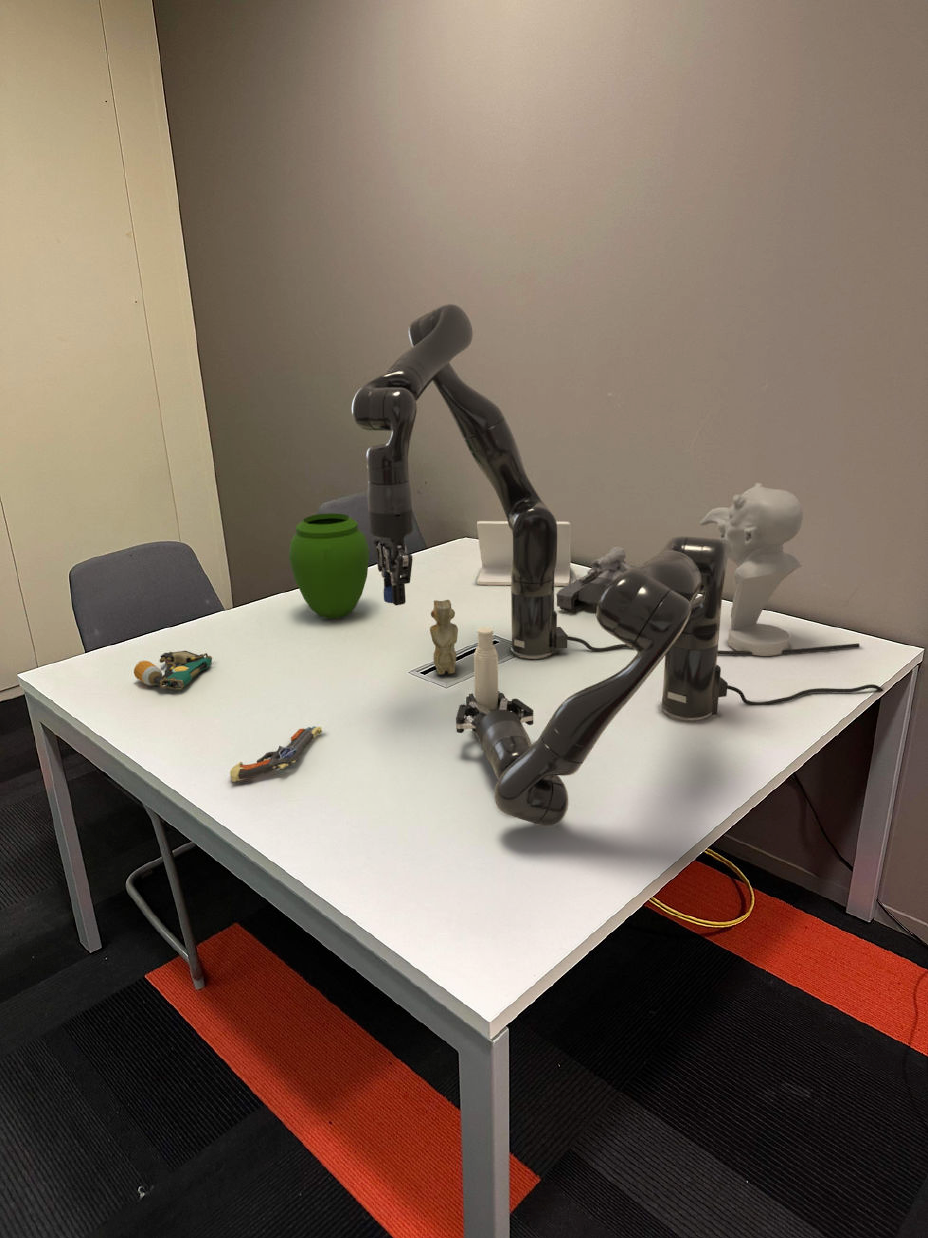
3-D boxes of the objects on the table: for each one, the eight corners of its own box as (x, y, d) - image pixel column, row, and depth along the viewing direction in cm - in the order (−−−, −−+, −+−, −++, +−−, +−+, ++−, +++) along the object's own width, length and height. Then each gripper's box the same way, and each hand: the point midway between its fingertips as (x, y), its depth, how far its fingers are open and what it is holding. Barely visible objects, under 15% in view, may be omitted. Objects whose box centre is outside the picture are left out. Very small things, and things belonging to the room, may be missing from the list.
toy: (603, 584, 229) (605, 530, 224) (673, 597, 218) (677, 540, 213) (555, 612, 210) (556, 553, 205) (630, 627, 199) (633, 566, 194)
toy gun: (224, 771, 138) (281, 769, 136) (271, 724, 156) (322, 721, 154) (228, 786, 139) (285, 784, 137) (273, 737, 157) (324, 735, 155)
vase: (389, 608, 216) (383, 514, 208) (339, 633, 201) (330, 533, 192) (330, 596, 226) (322, 506, 218) (278, 619, 211) (267, 523, 202)
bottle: (480, 741, 151) (477, 635, 143) (473, 731, 154) (470, 627, 147) (502, 738, 152) (500, 632, 144) (494, 727, 155) (492, 624, 148)
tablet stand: (569, 585, 229) (570, 524, 223) (476, 584, 232) (475, 523, 226) (570, 566, 246) (571, 508, 240) (484, 564, 249) (483, 507, 243)
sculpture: (458, 662, 183) (456, 596, 178) (460, 676, 176) (457, 608, 171) (431, 663, 183) (428, 597, 177) (431, 677, 176) (428, 609, 171)
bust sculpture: (728, 615, 205) (741, 470, 193) (809, 647, 185) (829, 488, 173) (677, 628, 198) (686, 478, 186) (755, 663, 178) (772, 498, 166)
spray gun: (177, 659, 191) (231, 671, 185) (120, 684, 176) (176, 698, 171) (176, 641, 190) (230, 653, 184) (118, 665, 175) (174, 678, 169)
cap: (405, 602, 151) (405, 591, 151) (384, 604, 151) (383, 592, 150) (404, 595, 155) (404, 584, 154) (383, 597, 155) (383, 585, 154)
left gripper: (356, 501, 152) (362, 592, 158) (383, 518, 139) (388, 616, 146) (396, 496, 154) (400, 586, 161) (425, 512, 142) (429, 609, 148)
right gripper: (548, 716, 137) (521, 673, 153) (461, 726, 135) (443, 681, 151) (547, 757, 140) (522, 711, 156) (462, 767, 138) (445, 719, 154)
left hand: (395, 600), depth 153 cm, fingers closed on cap, 3 cm apart
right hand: (483, 697), depth 153 cm, fingers closed on bottle, 4 cm apart
